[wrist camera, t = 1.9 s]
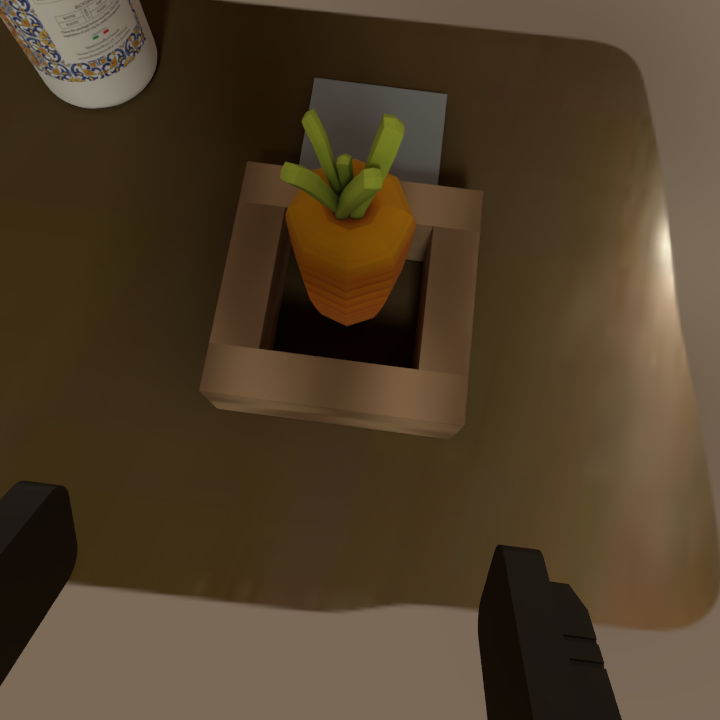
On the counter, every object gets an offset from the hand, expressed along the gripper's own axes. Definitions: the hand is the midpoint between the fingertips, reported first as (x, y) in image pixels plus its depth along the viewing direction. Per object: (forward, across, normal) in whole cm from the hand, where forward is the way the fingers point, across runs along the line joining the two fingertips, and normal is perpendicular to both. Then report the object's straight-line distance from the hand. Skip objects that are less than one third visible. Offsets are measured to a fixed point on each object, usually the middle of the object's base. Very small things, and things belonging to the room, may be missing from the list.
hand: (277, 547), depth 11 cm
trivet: (+29, 0, -3) cm, 29 cm away
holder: (+21, 0, +5) cm, 22 cm away
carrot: (+22, 0, +5) cm, 22 cm away
